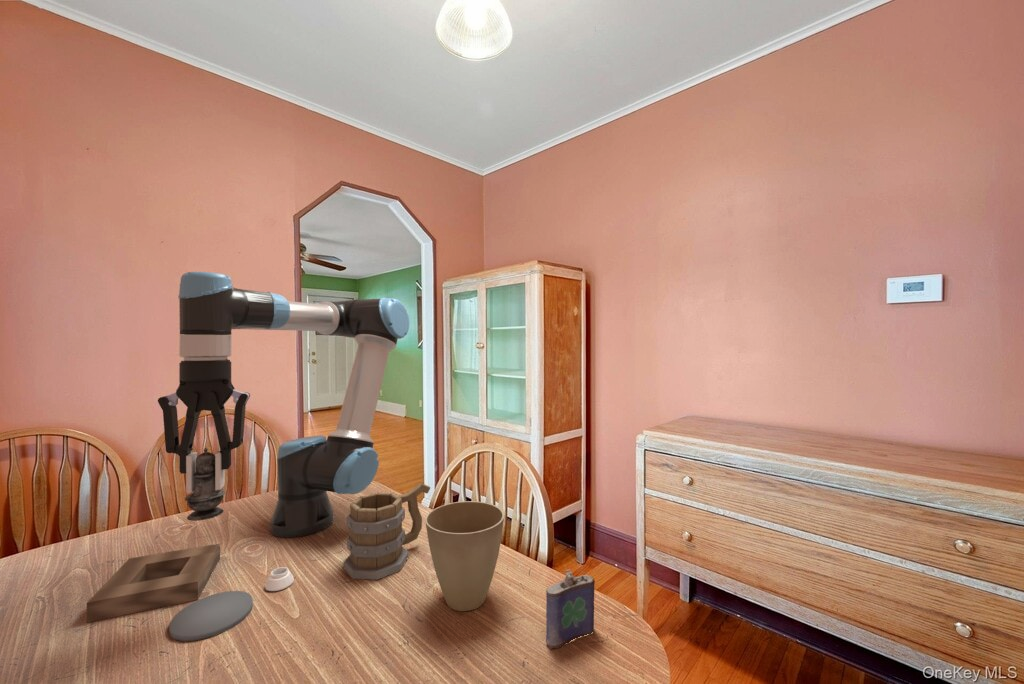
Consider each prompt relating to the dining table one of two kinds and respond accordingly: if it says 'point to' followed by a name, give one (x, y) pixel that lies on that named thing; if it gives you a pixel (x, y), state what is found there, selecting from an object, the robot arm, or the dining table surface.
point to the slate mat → (210, 616)
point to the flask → (569, 609)
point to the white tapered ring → (279, 579)
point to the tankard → (380, 533)
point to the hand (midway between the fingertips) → (206, 488)
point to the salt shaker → (205, 490)
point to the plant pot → (465, 550)
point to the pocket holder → (155, 582)
